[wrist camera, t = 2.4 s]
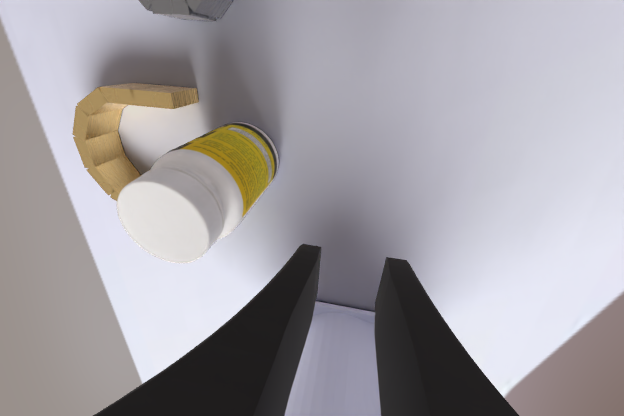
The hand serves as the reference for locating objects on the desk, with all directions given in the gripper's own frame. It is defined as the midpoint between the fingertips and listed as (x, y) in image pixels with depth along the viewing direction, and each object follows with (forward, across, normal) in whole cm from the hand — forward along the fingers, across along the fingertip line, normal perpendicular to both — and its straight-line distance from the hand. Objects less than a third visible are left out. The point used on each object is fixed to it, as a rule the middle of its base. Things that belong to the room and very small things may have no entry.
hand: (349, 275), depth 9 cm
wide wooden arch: (+9, +14, 0) cm, 16 cm away
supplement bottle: (+10, +8, 0) cm, 12 cm away
